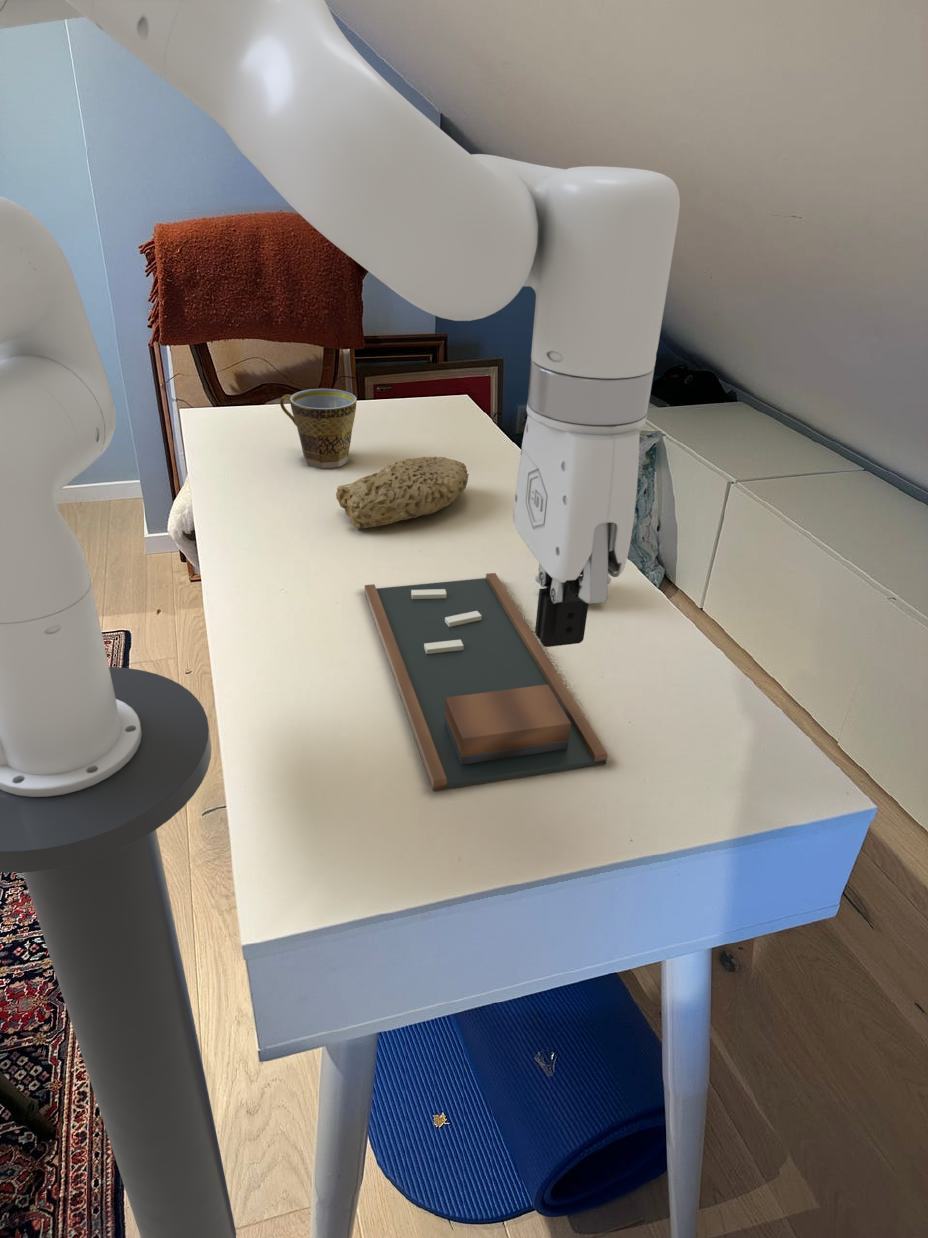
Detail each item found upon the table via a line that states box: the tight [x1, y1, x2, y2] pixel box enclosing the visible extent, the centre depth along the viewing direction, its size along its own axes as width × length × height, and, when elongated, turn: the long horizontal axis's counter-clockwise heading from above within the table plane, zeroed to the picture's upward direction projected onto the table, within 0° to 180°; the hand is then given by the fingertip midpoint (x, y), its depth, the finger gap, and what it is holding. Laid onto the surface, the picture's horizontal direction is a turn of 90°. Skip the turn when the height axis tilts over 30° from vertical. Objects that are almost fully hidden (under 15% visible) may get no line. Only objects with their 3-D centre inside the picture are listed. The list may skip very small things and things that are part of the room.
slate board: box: [364, 572, 608, 792], centre depth 89 cm, size 16×34×1 cm, turn 15°
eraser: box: [445, 684, 571, 765], centre depth 78 cm, size 10×6×3 cm, turn 105°
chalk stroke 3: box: [445, 611, 482, 627], centre depth 96 cm, size 4×1×1 cm, turn 115°
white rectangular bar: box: [411, 589, 447, 599], centre depth 100 cm, size 4×1×1 cm, turn 97°
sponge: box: [335, 456, 470, 529], centre depth 120 cm, size 13×8×20 cm
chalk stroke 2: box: [424, 640, 464, 654], centre depth 91 cm, size 4×1×1 cm, turn 105°
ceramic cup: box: [279, 388, 358, 470], centre depth 133 cm, size 13×10×10 cm
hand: (558, 638), depth 63 cm, fingers closed
